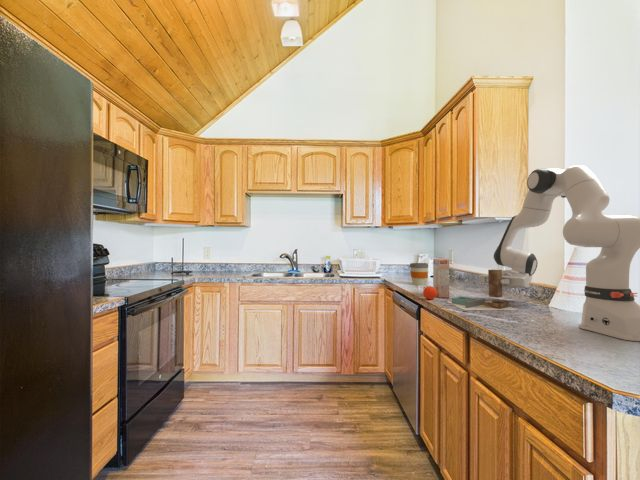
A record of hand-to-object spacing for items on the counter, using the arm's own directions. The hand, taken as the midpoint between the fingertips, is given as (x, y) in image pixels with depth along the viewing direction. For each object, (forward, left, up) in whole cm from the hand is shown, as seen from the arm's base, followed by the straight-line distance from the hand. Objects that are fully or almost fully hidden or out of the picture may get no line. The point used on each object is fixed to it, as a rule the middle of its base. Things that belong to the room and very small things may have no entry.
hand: (494, 281), depth 143 cm
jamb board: (+4, +5, -13) cm, 14 cm away
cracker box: (+35, +11, -13) cm, 39 cm away
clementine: (+25, +21, -13) cm, 35 cm away
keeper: (+1, -1, -12) cm, 12 cm away
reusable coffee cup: (+85, +8, -13) cm, 87 cm away
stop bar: (0, -1, -7) cm, 7 cm away
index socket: (+8, +10, -13) cm, 18 cm away
